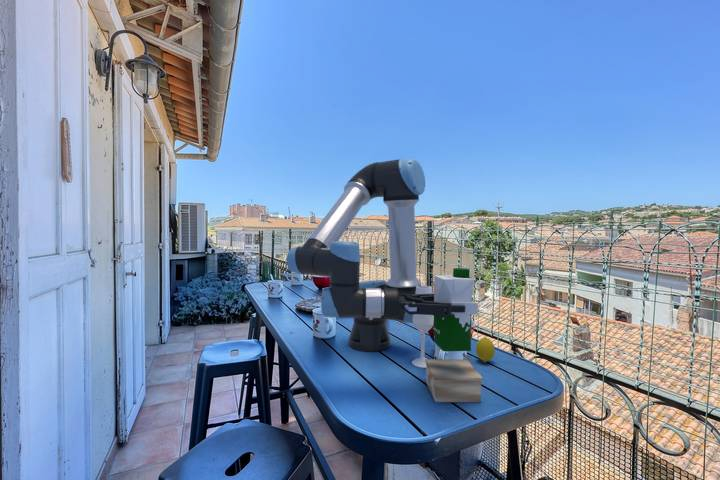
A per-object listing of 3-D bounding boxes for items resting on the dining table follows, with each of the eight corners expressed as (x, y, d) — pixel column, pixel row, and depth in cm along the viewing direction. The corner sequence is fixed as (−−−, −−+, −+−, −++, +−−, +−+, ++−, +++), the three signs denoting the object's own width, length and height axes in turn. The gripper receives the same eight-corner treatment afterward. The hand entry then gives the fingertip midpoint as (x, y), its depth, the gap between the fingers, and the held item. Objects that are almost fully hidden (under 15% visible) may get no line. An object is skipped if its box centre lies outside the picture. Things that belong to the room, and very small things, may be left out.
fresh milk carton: (476, 352, 80) (477, 270, 80) (440, 353, 80) (441, 270, 79) (462, 340, 89) (463, 267, 89) (429, 341, 88) (430, 267, 88)
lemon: (496, 366, 101) (496, 340, 101) (477, 365, 102) (477, 339, 102) (492, 359, 106) (493, 335, 106) (474, 358, 107) (474, 334, 107)
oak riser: (424, 380, 91) (424, 359, 90) (466, 381, 91) (466, 359, 91) (434, 402, 79) (434, 377, 79) (482, 402, 79) (482, 378, 79)
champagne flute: (417, 368, 99) (418, 289, 98) (408, 360, 105) (409, 285, 104) (437, 366, 101) (439, 288, 100) (427, 358, 107) (428, 284, 106)
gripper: (379, 308, 95) (457, 309, 95) (385, 329, 73) (486, 331, 74) (379, 282, 95) (458, 283, 95) (386, 296, 73) (487, 297, 73)
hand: (470, 304), depth 84 cm, fingers closed on fresh milk carton, 9 cm apart
